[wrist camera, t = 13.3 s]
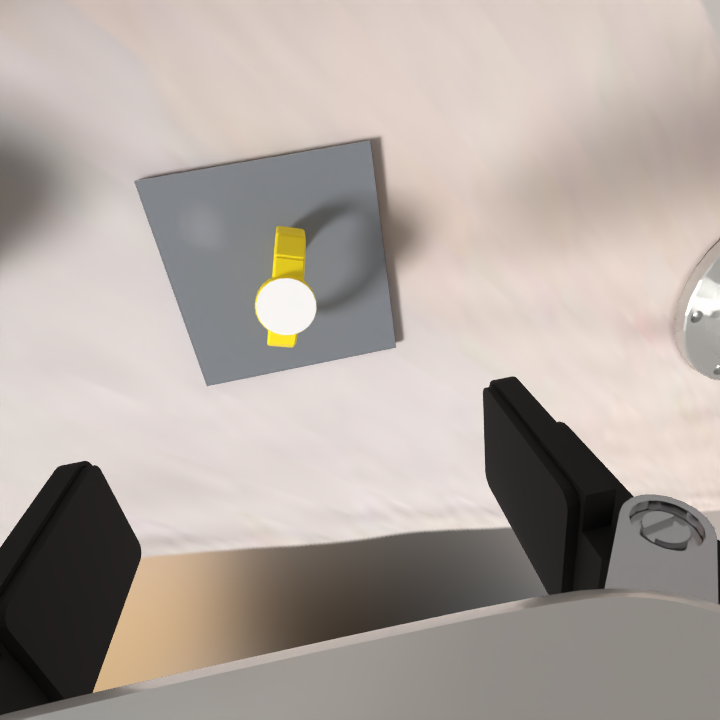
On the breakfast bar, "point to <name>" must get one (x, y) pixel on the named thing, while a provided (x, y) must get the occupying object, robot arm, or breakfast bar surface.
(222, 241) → the slate coaster
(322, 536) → the breakfast bar surface
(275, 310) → the watch
